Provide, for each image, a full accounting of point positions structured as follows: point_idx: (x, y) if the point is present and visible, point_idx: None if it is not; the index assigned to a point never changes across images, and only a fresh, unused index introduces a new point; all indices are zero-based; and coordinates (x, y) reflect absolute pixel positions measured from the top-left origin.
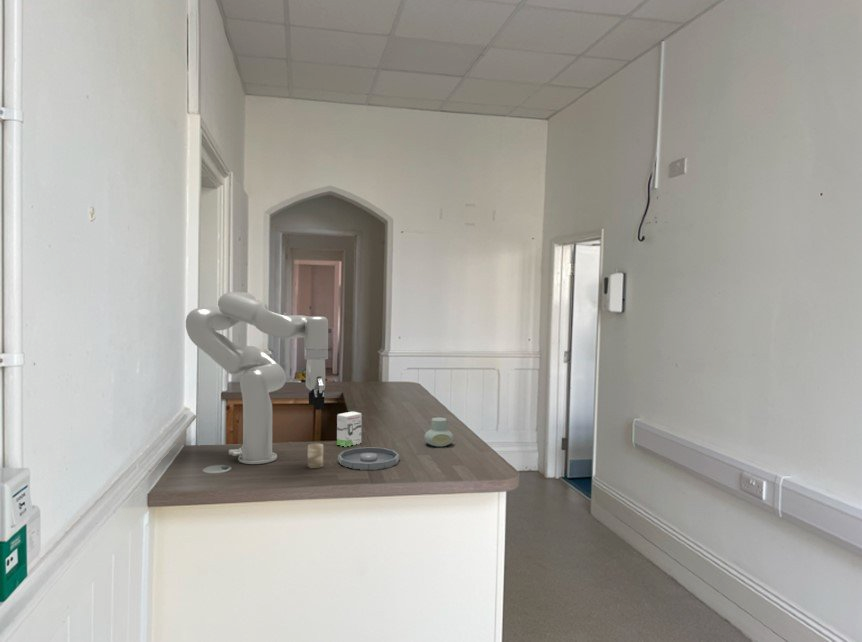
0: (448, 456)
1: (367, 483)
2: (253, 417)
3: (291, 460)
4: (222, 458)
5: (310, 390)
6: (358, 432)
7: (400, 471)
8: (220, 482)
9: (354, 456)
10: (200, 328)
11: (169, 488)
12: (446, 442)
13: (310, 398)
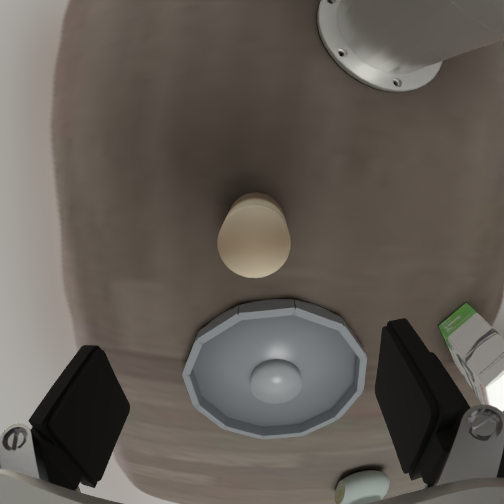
0: (272, 483)
1: (87, 337)
2: None
3: (352, 139)
4: None
5: (451, 444)
6: (465, 376)
7: (175, 413)
8: None
9: (322, 347)
10: None
11: None
12: (336, 492)
13: (402, 371)
